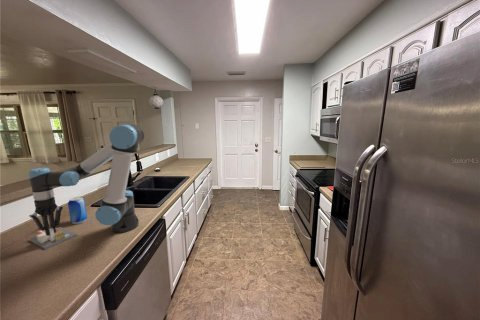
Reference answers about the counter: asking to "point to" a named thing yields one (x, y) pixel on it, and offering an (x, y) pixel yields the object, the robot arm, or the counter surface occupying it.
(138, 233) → the counter surface
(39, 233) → the block
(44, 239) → the ivory slider
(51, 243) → the panel
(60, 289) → the counter surface
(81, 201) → the beer can
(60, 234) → the brass slider
